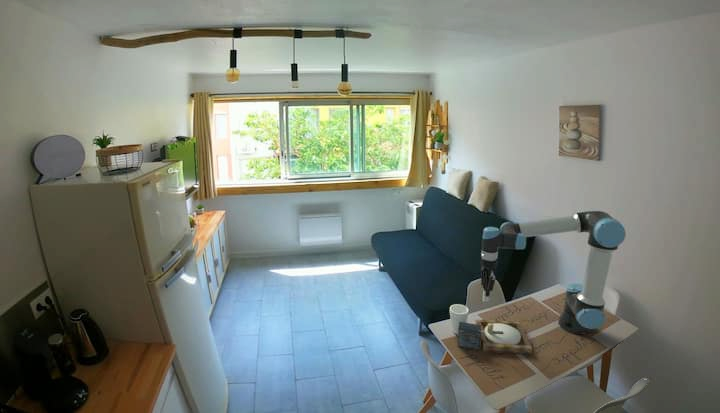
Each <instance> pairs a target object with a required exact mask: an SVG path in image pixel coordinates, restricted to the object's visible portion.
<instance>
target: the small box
mask: <svg viewBox="0 0 720 413" xmlns="http://www.w3.org/2000/svg"><path fill="white" fill-rule="evenodd" d="M458 330H459V331H458V334H457V338H458V339H457V347H458V348H462V349H468V348H470V350H474V349H476V350H475V351H481V342H480V339H481V325H477V324H476V323H470V322H466V323H464V322H459V328H458Z"/></svg>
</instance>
